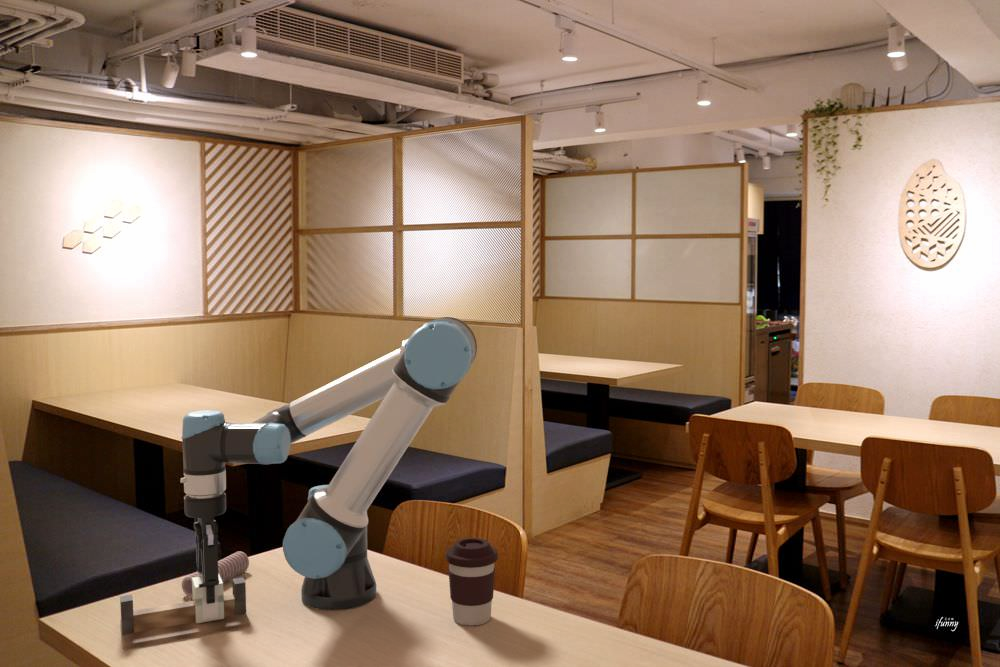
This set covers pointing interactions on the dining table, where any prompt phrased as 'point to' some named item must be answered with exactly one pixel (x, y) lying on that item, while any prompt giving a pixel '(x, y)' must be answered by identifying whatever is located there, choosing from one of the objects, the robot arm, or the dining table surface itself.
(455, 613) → the coffee cup
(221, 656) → the dining table surface
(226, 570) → the coil
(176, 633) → the track
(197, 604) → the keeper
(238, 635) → the dining table surface
